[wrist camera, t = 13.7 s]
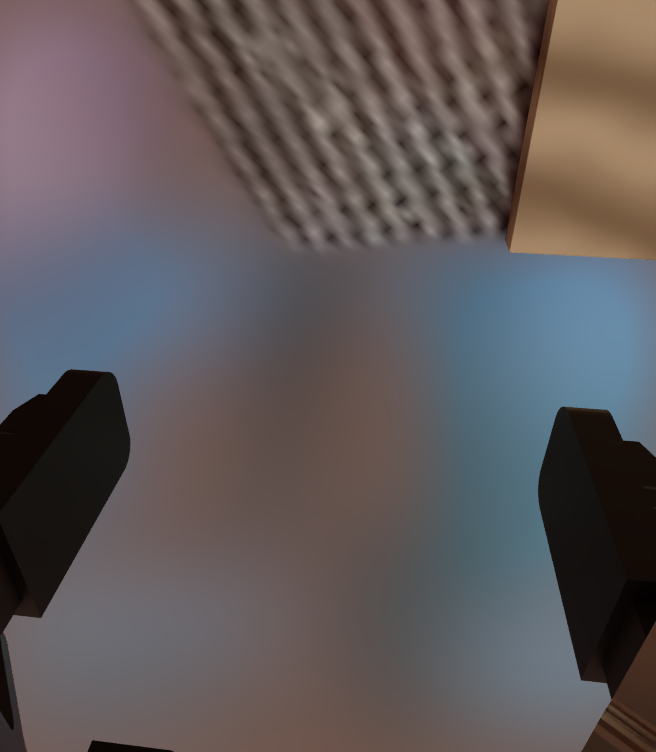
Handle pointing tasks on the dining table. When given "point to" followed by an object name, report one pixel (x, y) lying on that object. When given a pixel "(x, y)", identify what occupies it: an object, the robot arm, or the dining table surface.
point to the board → (590, 135)
